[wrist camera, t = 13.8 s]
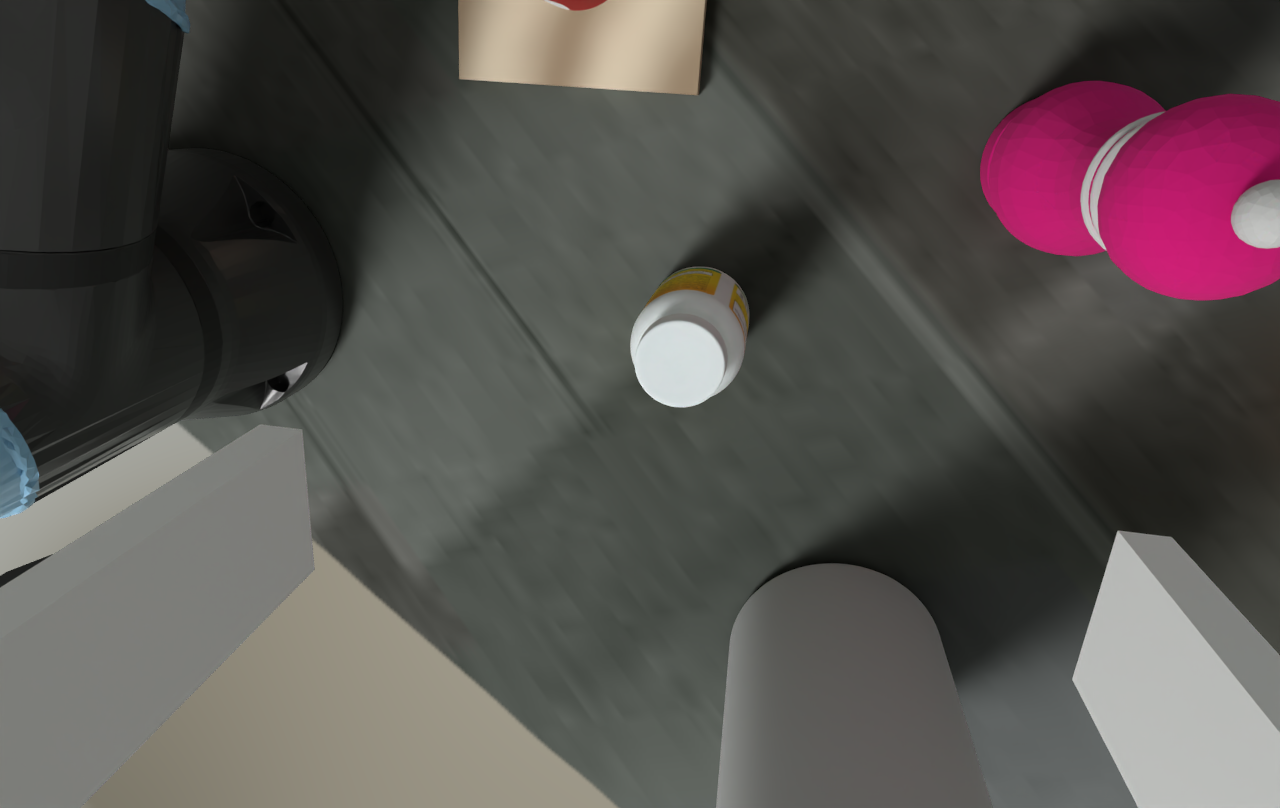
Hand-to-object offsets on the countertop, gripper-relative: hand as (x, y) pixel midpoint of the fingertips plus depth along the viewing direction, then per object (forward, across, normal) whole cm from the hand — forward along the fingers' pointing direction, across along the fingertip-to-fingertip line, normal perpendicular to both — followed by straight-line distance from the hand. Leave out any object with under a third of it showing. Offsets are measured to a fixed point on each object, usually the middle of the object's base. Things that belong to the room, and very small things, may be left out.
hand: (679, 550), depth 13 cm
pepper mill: (+32, -14, -5) cm, 35 cm away
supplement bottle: (+32, +2, +4) cm, 32 cm away
